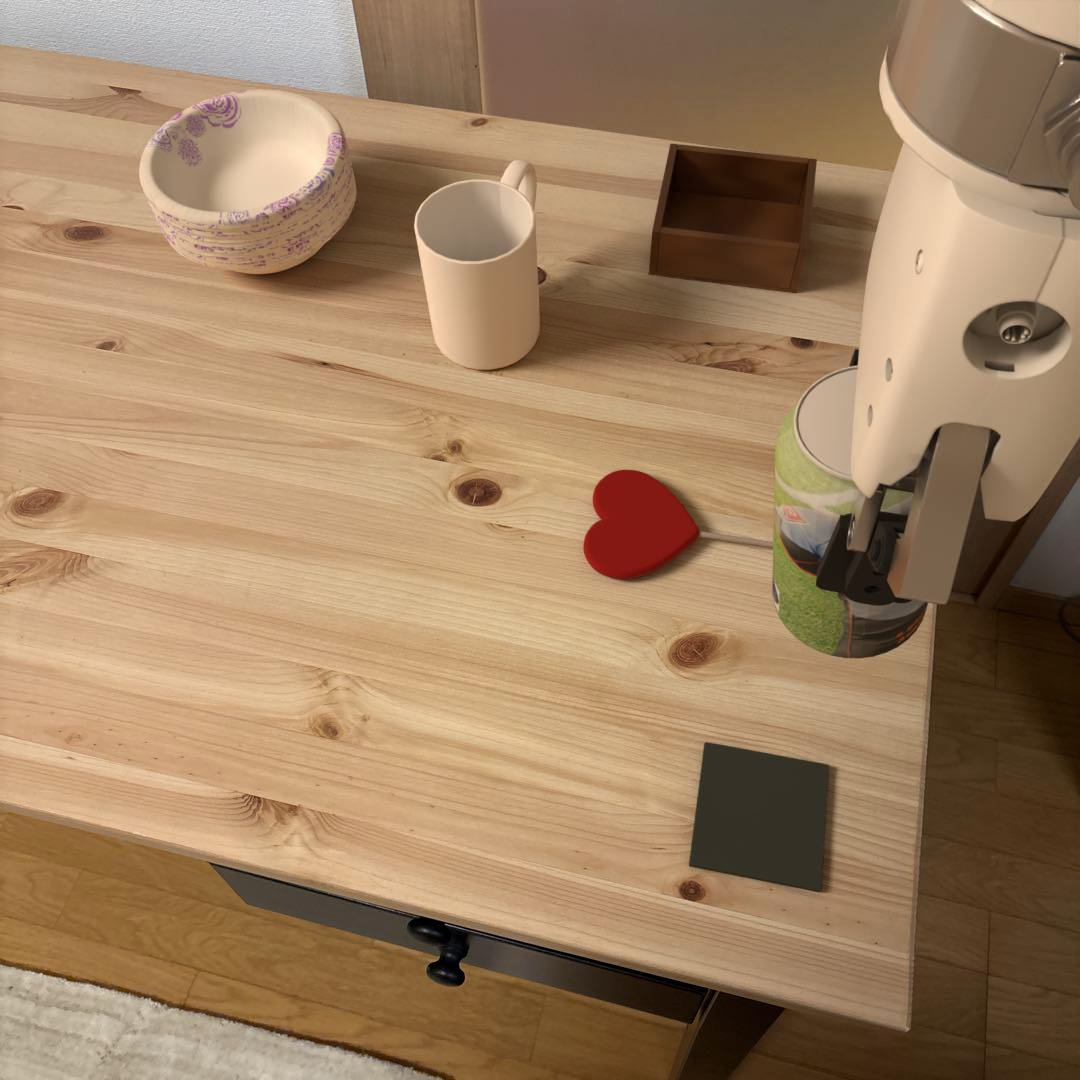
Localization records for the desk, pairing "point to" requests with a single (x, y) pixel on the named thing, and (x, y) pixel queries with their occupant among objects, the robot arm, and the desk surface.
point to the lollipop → (640, 526)
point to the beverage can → (826, 527)
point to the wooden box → (733, 217)
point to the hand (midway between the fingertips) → (868, 504)
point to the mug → (482, 268)
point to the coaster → (760, 817)
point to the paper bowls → (249, 180)
